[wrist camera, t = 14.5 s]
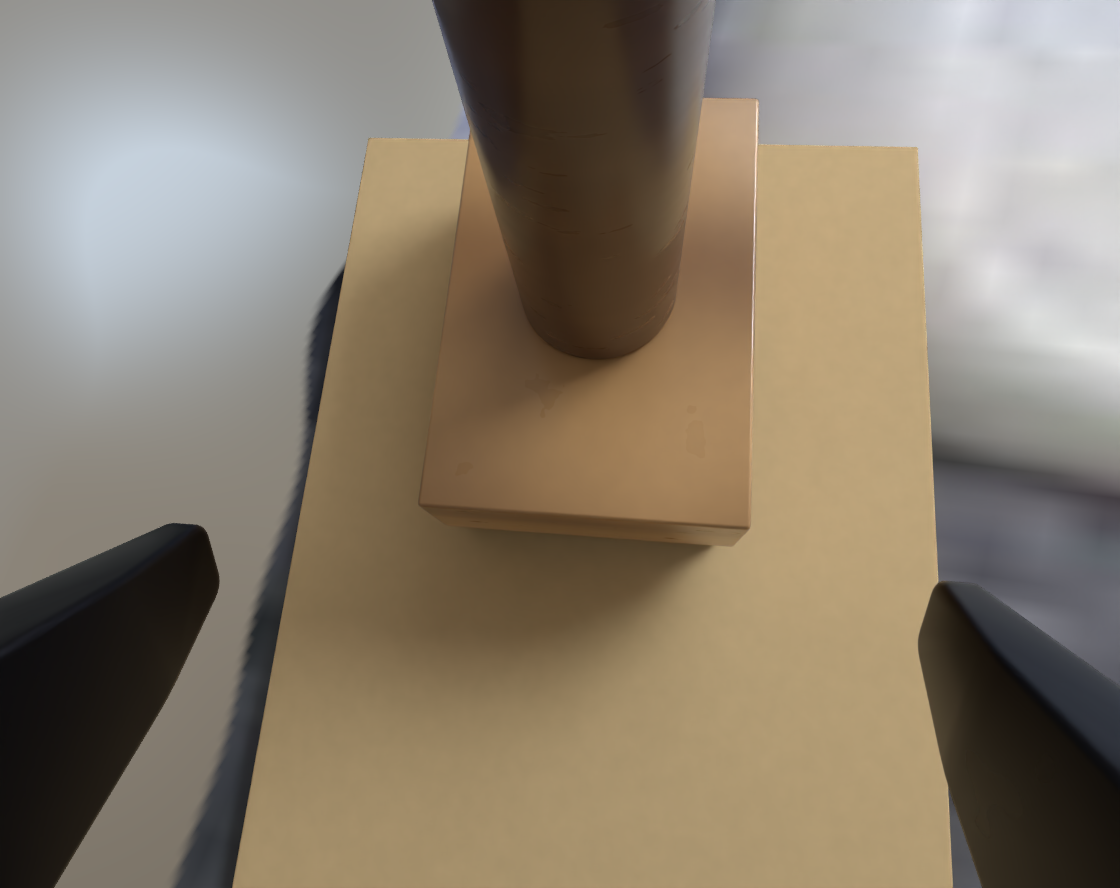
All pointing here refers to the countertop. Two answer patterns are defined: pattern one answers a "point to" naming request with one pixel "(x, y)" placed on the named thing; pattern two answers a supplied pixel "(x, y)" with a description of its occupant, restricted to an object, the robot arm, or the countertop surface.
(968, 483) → the countertop surface
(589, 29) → the wooden rubber stamp
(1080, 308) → the countertop surface
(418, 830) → the cork mat
